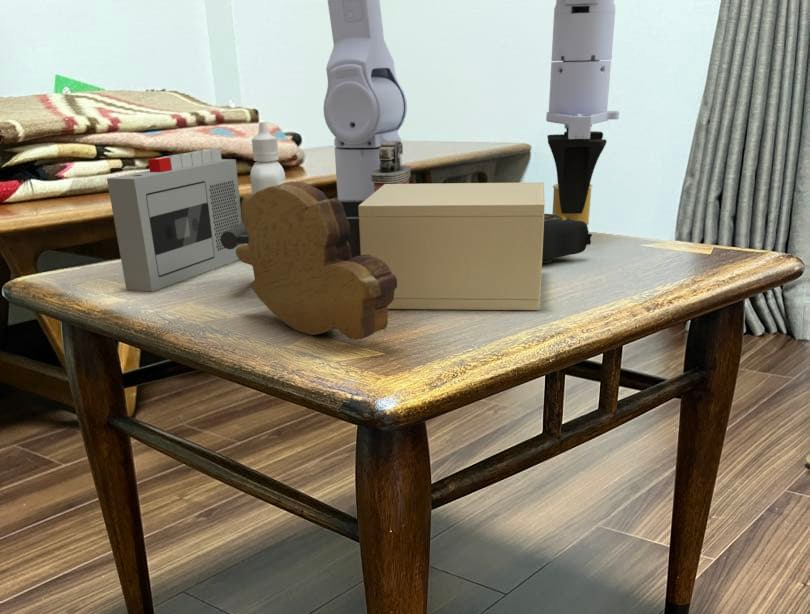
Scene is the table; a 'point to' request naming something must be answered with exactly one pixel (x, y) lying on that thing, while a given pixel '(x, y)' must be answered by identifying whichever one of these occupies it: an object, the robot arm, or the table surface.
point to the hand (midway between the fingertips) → (571, 209)
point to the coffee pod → (578, 217)
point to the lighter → (390, 166)
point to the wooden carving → (312, 263)
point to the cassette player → (175, 218)
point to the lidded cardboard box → (458, 243)
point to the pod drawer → (350, 207)
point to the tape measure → (563, 237)
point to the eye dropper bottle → (265, 161)
